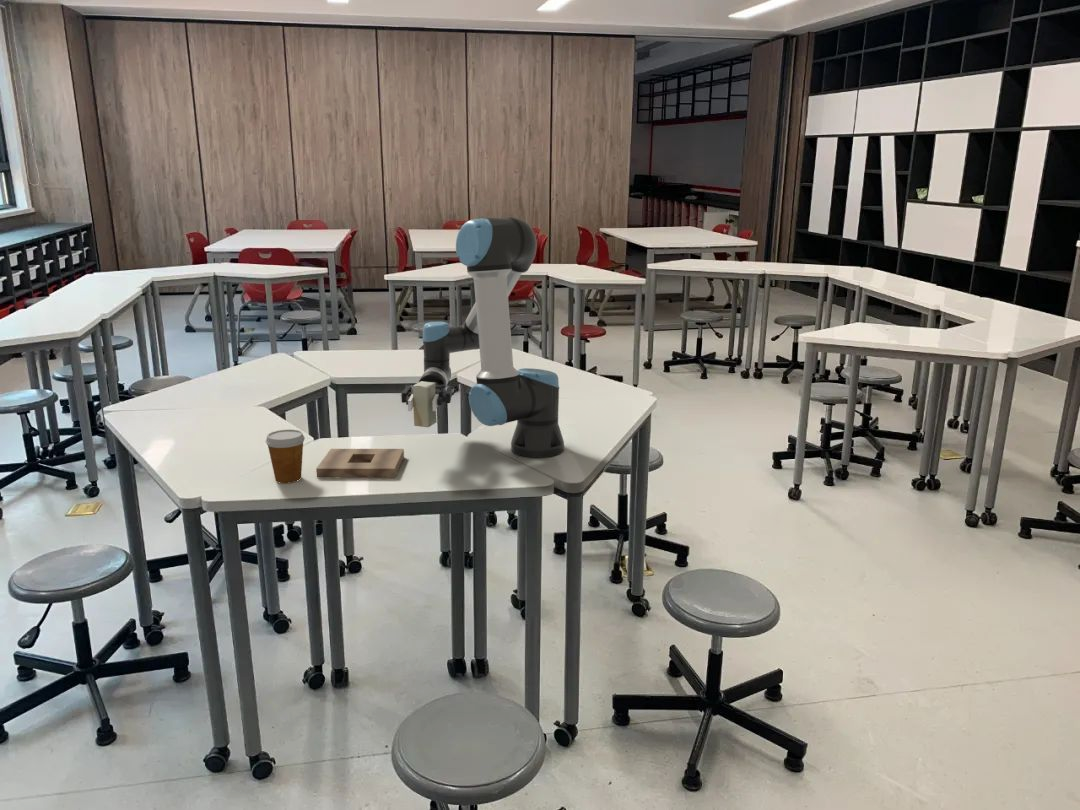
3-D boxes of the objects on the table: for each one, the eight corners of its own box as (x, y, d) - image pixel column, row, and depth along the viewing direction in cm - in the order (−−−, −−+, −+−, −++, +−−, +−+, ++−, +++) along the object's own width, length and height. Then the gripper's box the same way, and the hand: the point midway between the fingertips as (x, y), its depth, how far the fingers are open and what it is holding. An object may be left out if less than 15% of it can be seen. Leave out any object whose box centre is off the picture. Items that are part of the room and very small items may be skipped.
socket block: (404, 457, 224) (403, 448, 224) (394, 477, 209) (394, 468, 208) (331, 457, 224) (330, 448, 224) (316, 477, 209) (316, 468, 208)
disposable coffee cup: (268, 474, 211) (265, 430, 207) (307, 471, 213) (303, 427, 210) (268, 487, 202) (264, 441, 199) (308, 483, 205) (305, 438, 202)
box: (422, 420, 218) (421, 380, 215) (437, 422, 216) (436, 382, 213) (413, 426, 213) (411, 385, 210) (428, 428, 211) (426, 386, 208)
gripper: (465, 396, 231) (458, 420, 209) (400, 396, 231) (386, 419, 209) (465, 371, 229) (457, 392, 207) (399, 370, 229) (384, 391, 207)
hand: (421, 405), depth 208 cm, fingers closed on box, 5 cm apart
